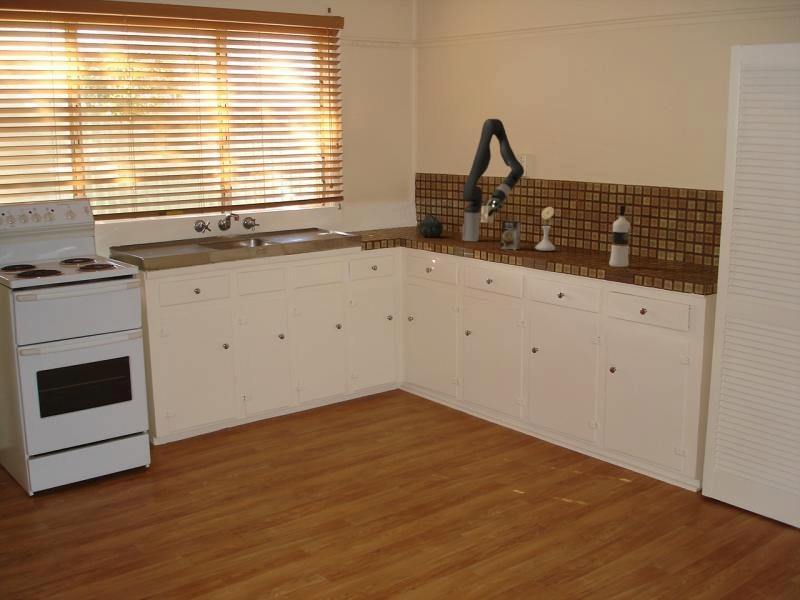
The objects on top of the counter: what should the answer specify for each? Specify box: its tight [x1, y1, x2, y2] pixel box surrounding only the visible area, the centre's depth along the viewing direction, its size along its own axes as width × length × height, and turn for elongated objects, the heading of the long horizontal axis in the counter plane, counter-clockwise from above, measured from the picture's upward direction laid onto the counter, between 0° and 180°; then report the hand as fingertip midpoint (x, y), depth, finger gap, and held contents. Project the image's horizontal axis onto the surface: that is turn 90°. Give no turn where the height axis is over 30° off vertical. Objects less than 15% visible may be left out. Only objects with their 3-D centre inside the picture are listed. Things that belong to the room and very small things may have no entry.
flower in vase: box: [534, 206, 556, 252], centre depth 493 cm, size 13×11×25 cm
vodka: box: [608, 204, 631, 268], centre depth 433 cm, size 9×9×30 cm
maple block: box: [480, 205, 495, 224], centre depth 502 cm, size 5×5×9 cm
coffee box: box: [500, 219, 522, 251], centre depth 498 cm, size 9×6×16 cm
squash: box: [418, 214, 443, 238], centre depth 555 cm, size 14×15×15 cm
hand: (485, 214), depth 501 cm, fingers closed on maple block, 5 cm apart
